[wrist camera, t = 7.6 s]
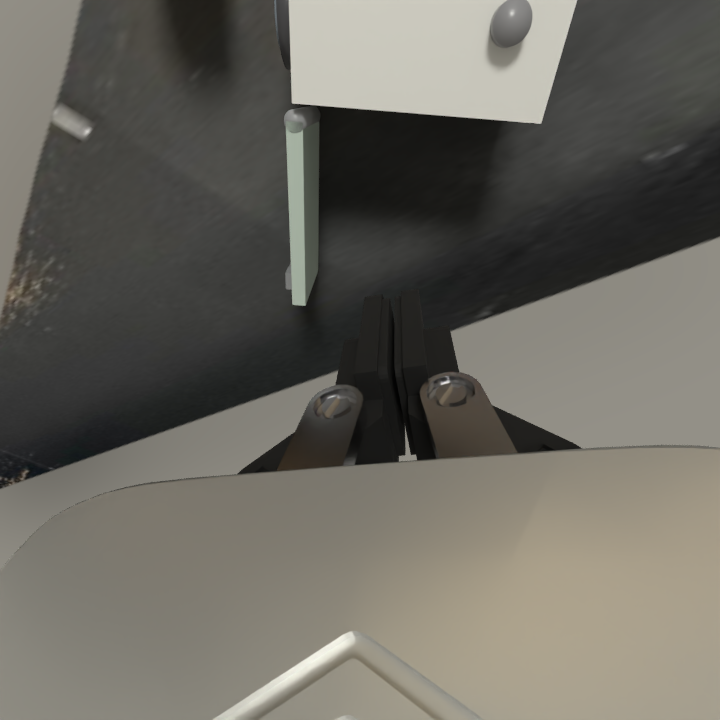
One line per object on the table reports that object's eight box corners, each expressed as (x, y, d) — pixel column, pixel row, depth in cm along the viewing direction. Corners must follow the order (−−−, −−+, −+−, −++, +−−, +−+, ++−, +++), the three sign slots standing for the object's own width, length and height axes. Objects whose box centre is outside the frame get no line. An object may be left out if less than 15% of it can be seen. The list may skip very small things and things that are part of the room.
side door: (292, 104, 28) (268, 107, 22) (320, 106, 28) (304, 110, 22) (296, 268, 35) (279, 303, 29) (319, 270, 35) (306, 305, 29)
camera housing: (541, -40, 23) (612, -99, 16) (503, 117, 28) (545, 125, 21) (291, -60, 23) (250, -128, 16) (295, 99, 28) (265, 103, 21)
